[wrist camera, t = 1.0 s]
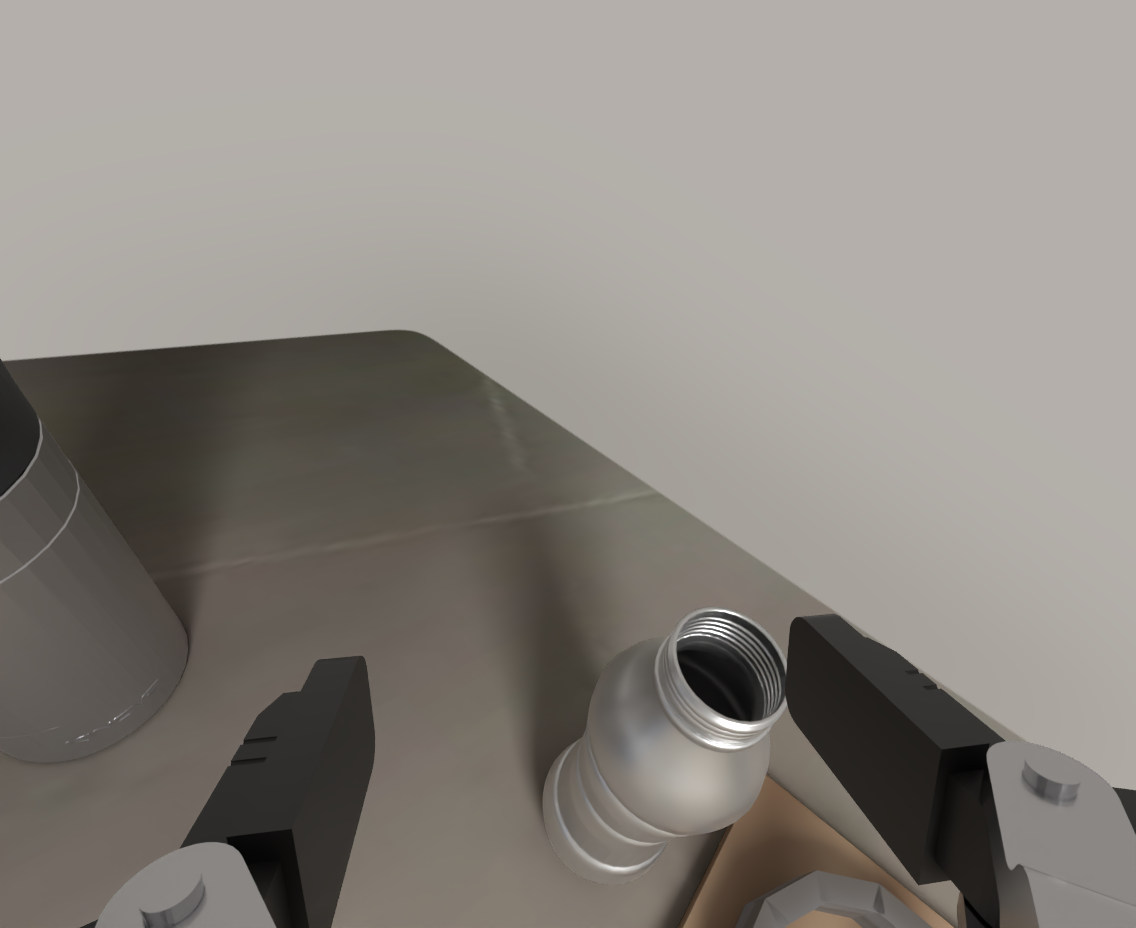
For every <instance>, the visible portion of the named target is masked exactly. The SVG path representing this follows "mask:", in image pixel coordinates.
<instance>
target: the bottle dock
mask: <svg viewBox="0 0 1136 928" xmlns="http://www.w3.org/2000/svg"><path fill="white" fill-rule="evenodd" d="M678 928H954V927H953V926H952V925H950V924H949V923H948V922H947V921H945V920H944V919H943V918H942V917H941V916H939V915H938V914H937V913H936V912H934V911H933V910H932V909H931V908H930V907H928V906H927V905H926V904H925V903H923V902H922V901H921V900H920V899H918V898H917V897H916V896H915V895H914V894H912V893H911V892H910V891H909V890H907V889H906V888H905V887H904V886H902V885H901V884H900V883H899V882H898V881H896V880H895V879H894V878H893V877H891V876H890V875H889V874H888V873H886V872H885V871H884V870H883V869H882V868H880V867H879V866H878V865H877V864H875V863H874V862H873V861H872V860H870V859H869V858H868V857H867V856H866V855H864V854H863V853H862V852H861V851H859V850H858V849H857V848H856V847H854V846H853V845H852V844H851V843H850V842H848V841H847V840H846V839H845V838H843V837H842V836H841V835H840V834H838V833H837V832H836V831H835V830H834V829H832V828H831V827H830V826H829V825H827V824H826V823H825V822H824V821H822V820H821V819H820V818H819V817H818V816H816V815H815V814H814V813H813V812H811V811H810V810H809V809H808V808H807V807H805V806H804V805H803V804H802V803H800V802H799V801H798V800H797V799H795V798H794V797H793V796H792V795H791V794H789V793H788V792H787V791H786V790H784V789H783V788H782V787H781V786H779V785H778V784H777V783H776V782H775V781H773V780H772V779H771V778H770V777H768V776H767V775H766V776H765V779H764V782H763V785H762V788H761V790H760V793H759V796H758V798H757V799H756V801H755V802H754V804H753V805H752V807H751V808H750V810H749V811H748V812H747V813H746V814H744V815H743V816H742V817H741V818H740V819H739V820H738V821H737V822H735V823H733V824H731V825H729V826H728V827H727V829H726V831H725V833H724V835H723V837H722V839H721V841H720V843H719V845H718V848H717V850H716V852H715V854H714V856H713V858H712V860H711V862H710V864H709V866H708V868H707V870H706V872H705V874H704V876H703V878H702V880H701V882H700V884H699V886H698V888H697V890H696V892H695V894H694V896H693V898H692V900H691V902H690V904H689V906H688V908H687V910H686V912H685V914H684V916H683V918H682V920H681V922H680V924H679V926H678Z"/></svg>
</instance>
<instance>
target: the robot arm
mask: <svg viewBox="0 0 1136 928" xmlns="http://www.w3.org/2000/svg"><path fill="white" fill-rule="evenodd" d="M187 655H188V641H187V634H186V632H185V630H184V627H183V625H182V623H181V621H180V620H179V618H178V617H177V616H176V614H175V613H174V611H173V610H172V608H171V607H170V605H169V604H168V603H167V601H166V600H165V598H164V597H163V595H162V594H161V592H160V591H159V589H158V588H157V586H156V585H155V583H154V582H153V580H152V579H151V577H150V576H149V575H148V573H147V572H146V570H145V569H144V567H143V566H142V564H141V563H140V562H139V560H138V559H137V557H136V556H135V554H134V553H133V551H132V550H131V549H130V547H129V546H128V544H127V543H126V541H125V540H124V538H123V537H122V536H121V534H120V533H119V531H118V530H117V528H116V527H115V526H114V524H113V523H112V521H111V520H110V518H109V517H108V515H107V514H106V513H105V511H104V510H103V508H102V507H101V505H100V504H99V502H98V501H97V500H96V498H95V497H94V495H93V494H92V492H91V491H90V489H89V488H88V487H87V485H86V484H85V482H84V481H83V479H82V478H81V476H80V475H79V474H78V472H77V471H76V469H75V468H74V466H73V465H72V463H71V462H70V461H69V460H68V458H67V457H66V456H65V454H64V453H63V451H62V450H61V448H60V447H59V445H58V444H57V443H56V441H55V440H54V438H53V437H52V435H51V434H50V432H49V431H48V430H47V428H46V427H45V425H44V424H43V422H42V421H41V419H40V418H39V417H38V415H37V414H36V412H35V411H34V409H33V408H32V406H31V405H30V403H29V402H28V400H27V399H26V398H25V396H24V395H23V393H22V392H21V390H20V389H19V388H18V386H17V385H16V383H15V381H14V380H13V378H12V377H11V375H10V373H9V372H8V370H7V369H6V367H5V365H4V364H3V362H2V360H1V359H0V751H1V752H3V753H5V754H7V755H9V756H12V757H14V758H17V759H20V760H23V761H27V762H37V763H52V762H62V761H69V760H73V759H76V758H80V757H83V756H87V755H90V754H93V753H95V752H97V751H100V750H102V749H104V748H106V747H108V746H111V745H113V744H115V743H116V742H118V741H120V740H121V739H123V738H124V737H126V736H128V735H129V734H131V733H132V732H134V731H135V730H137V729H138V728H139V727H140V726H141V725H143V724H144V723H145V722H146V721H147V720H149V719H150V718H151V717H152V716H153V715H154V714H155V713H156V712H157V711H158V710H159V709H160V707H161V706H162V705H163V704H164V703H165V702H166V701H167V700H168V698H169V697H170V695H171V694H172V692H173V691H174V689H175V687H176V686H177V684H178V683H179V681H180V678H181V676H182V673H183V671H184V668H185V666H186V661H187ZM785 696H786V702H787V705H788V709H789V712H790V714H791V716H792V718H793V720H794V722H795V723H796V725H797V726H798V727H799V729H800V730H801V731H802V733H803V734H804V735H805V736H806V738H807V739H808V740H809V742H810V743H811V744H812V746H813V747H814V748H815V750H816V751H817V752H818V754H819V755H820V756H821V758H822V759H823V760H824V761H825V763H826V764H827V765H828V767H829V768H830V769H831V771H832V772H833V773H834V775H835V776H836V777H837V779H838V780H839V781H840V783H841V784H842V785H843V787H844V788H845V789H846V790H847V792H848V793H849V794H850V796H851V797H852V798H853V800H854V801H855V802H856V804H857V805H858V806H859V808H860V809H861V810H862V812H863V813H864V814H865V816H866V817H867V818H868V819H869V821H870V822H871V823H872V825H873V826H874V827H875V829H876V830H877V831H878V833H879V834H880V835H881V837H882V838H883V839H884V841H885V842H886V843H887V845H888V846H889V847H890V848H891V850H892V851H893V852H894V854H895V855H896V856H897V858H898V859H899V860H900V862H901V863H902V864H903V866H904V867H905V868H906V870H907V871H908V872H909V873H910V875H911V876H912V877H913V879H914V880H915V881H916V883H917V884H918V885H923V884H929V883H936V882H942V881H948V880H951V881H952V882H953V883H954V884H955V886H956V887H957V888H958V889H959V890H960V894H959V899H958V904H957V918H958V928H1136V790H1129V789H1121V788H1114V787H1111V786H1110V785H1109V784H1108V783H1107V782H1106V781H1105V780H1104V779H1103V778H1102V777H1101V776H1100V775H1098V774H1097V773H1096V772H1094V771H1093V770H1092V769H1090V768H1089V767H1087V766H1085V765H1084V764H1082V763H1081V762H1079V761H1077V760H1075V759H1073V758H1071V757H1069V756H1067V755H1065V754H1063V753H1061V752H1058V751H1055V750H1053V749H1050V748H1047V747H1044V746H1041V745H1037V744H1033V743H1028V742H1021V741H1005V740H1004V739H1003V738H1001V737H1000V736H999V735H998V734H996V733H995V732H994V731H993V730H992V729H990V728H989V727H988V726H987V725H985V724H984V723H983V722H982V721H981V720H979V719H978V718H977V717H976V716H974V715H973V714H972V713H971V712H969V711H968V710H967V709H966V708H965V707H963V706H962V705H961V704H960V703H958V702H957V701H956V700H955V699H954V698H952V697H951V696H950V695H949V694H947V693H946V692H945V691H944V690H942V689H938V688H937V685H936V684H935V683H934V682H933V681H931V680H930V679H929V678H928V677H927V676H925V675H924V674H923V673H920V674H919V672H918V669H917V668H915V667H914V666H913V665H912V664H911V663H909V662H908V661H907V660H906V659H904V658H903V657H902V656H901V655H900V654H898V653H897V652H896V651H894V650H892V649H890V648H888V647H886V646H884V645H882V644H880V643H878V642H876V641H874V640H872V639H869V638H867V637H866V638H865V637H863V636H862V635H861V634H860V633H859V632H858V631H856V630H855V629H854V628H853V627H852V626H850V625H849V624H848V623H847V622H846V621H845V620H843V619H842V618H841V617H840V616H838V615H836V614H826V615H815V616H804V617H796V618H795V619H794V620H793V621H792V623H791V626H790V634H789V646H788V657H787V669H786V680H785ZM374 754H375V730H374V721H373V713H372V705H371V697H370V689H369V681H368V673H367V666H366V662H365V659H364V657H363V656H354V657H343V658H332V659H321V660H317V662H316V663H315V664H314V666H313V668H312V670H311V672H310V674H309V676H308V678H307V680H306V682H305V684H304V686H303V688H302V690H301V691H300V692H290V693H283V694H282V695H281V696H280V697H278V698H277V699H276V700H275V701H274V702H273V703H272V704H270V705H269V706H268V707H267V708H266V709H265V710H263V711H262V712H261V713H260V714H259V715H258V716H257V718H256V720H255V721H254V723H253V725H252V726H251V728H250V730H249V732H248V733H247V735H246V737H245V738H244V743H243V745H240V747H239V749H238V750H237V752H236V754H235V755H234V757H233V759H232V760H231V766H228V767H227V769H226V771H225V772H224V774H223V776H222V777H221V779H220V781H219V783H218V784H217V786H216V788H215V789H214V791H213V793H212V794H211V796H210V798H209V800H208V801H207V803H206V805H205V806H204V808H203V810H202V811H201V813H200V815H199V817H198V818H197V820H196V822H195V823H194V825H193V827H192V828H191V830H190V832H189V834H188V835H187V837H186V839H185V840H184V842H183V844H182V845H181V847H180V849H179V850H176V851H173V852H171V853H169V854H167V855H165V856H163V857H161V858H159V859H158V860H156V861H154V862H153V863H151V864H150V865H148V866H147V867H145V868H144V869H142V870H141V871H140V872H138V873H137V874H136V875H135V876H133V877H132V878H131V879H130V880H129V881H128V882H126V883H125V884H124V885H123V886H122V887H121V888H120V890H119V891H118V892H117V893H116V894H115V895H114V896H113V897H112V899H111V900H110V901H109V902H108V904H107V905H106V907H105V908H104V910H103V912H102V913H101V915H100V917H99V919H98V920H96V921H94V922H92V923H89V924H87V925H85V926H83V927H80V928H331V925H332V921H333V918H334V914H335V910H336V906H337V902H338V899H339V895H340V891H341V887H342V883H343V879H344V876H345V872H346V868H347V864H348V860H349V857H350V853H351V849H352V845H353V841H354V838H355V834H356V830H357V826H358V822H359V819H360V815H361V811H362V807H363V803H364V799H365V796H366V792H367V788H368V784H369V780H370V777H371V773H372V769H373V763H374Z"/></svg>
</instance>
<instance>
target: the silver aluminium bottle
mask: <svg viewBox="0 0 1136 928" xmlns="http://www.w3.org/2000/svg"><path fill="white" fill-rule="evenodd" d="M786 669H787V660H786V658H785V656H784V654H783V652H782V650H781V649H780V647H779V646H778V644H777V643H776V641H775V640H774V639H773V638H772V636H771V635H770V634H769V633H768V632H767V631H766V630H765V629H764V628H763V627H762V626H760V625H759V624H758V623H757V622H755V621H754V620H752V619H751V618H749V617H748V616H746V615H744V614H742V613H740V612H737V611H735V610H731V609H728V608H724V607H715V606H713V607H703V608H700V609H697V610H694V611H692V612H691V613H689V614H687V615H686V616H685V617H684V618H683V619H682V620H681V621H680V622H679V623H678V624H677V625H676V627H675V629H674V630H673V632H671V633H670V634H669V635H668V636H667V637H660V638H652V639H648V640H645V641H642V642H639V643H637V644H635V645H633V646H631V647H629V648H627V649H626V650H624V651H622V652H620V653H619V654H617V655H616V656H615V657H614V658H613V659H612V660H611V661H610V662H609V663H608V664H607V665H606V667H605V668H604V670H603V672H602V673H601V675H600V676H599V678H598V681H597V684H596V686H595V689H594V692H593V695H592V698H591V700H590V705H589V712H588V718H587V726H586V730H585V732H584V735H583V737H582V738H580V739H578V740H577V741H575V742H574V743H572V744H571V745H569V746H568V747H567V748H566V749H565V750H564V751H563V752H562V753H561V754H560V755H559V756H558V757H557V758H556V760H555V761H554V763H553V764H552V766H551V767H550V770H549V772H548V775H547V777H546V780H545V785H544V790H543V816H544V823H545V829H546V832H547V835H548V838H549V841H550V843H551V845H552V846H553V848H554V850H555V852H556V854H557V855H558V856H559V858H560V859H561V860H562V861H563V863H564V864H565V865H566V866H567V867H568V868H570V869H571V870H572V871H573V872H574V873H576V874H577V875H579V876H581V877H583V878H584V879H586V880H589V881H593V882H596V883H599V884H602V885H616V886H617V885H622V884H627V883H630V882H632V881H634V880H636V879H638V878H640V877H642V876H643V875H644V874H645V873H646V872H648V871H649V870H650V869H651V868H652V866H653V865H654V864H655V862H656V861H657V860H658V858H659V857H660V855H661V854H662V852H663V851H664V849H665V846H666V844H667V842H668V841H669V840H670V839H673V838H675V837H683V836H695V835H701V834H706V833H711V832H714V831H716V830H720V829H722V828H724V827H727V826H729V825H731V824H733V823H735V822H737V821H738V820H739V819H740V818H741V817H742V816H743V815H744V814H746V813H747V812H748V811H749V810H750V808H751V807H752V805H753V804H754V802H755V801H756V799H757V798H758V796H759V793H760V790H761V788H762V785H763V782H764V779H765V776H766V773H767V770H768V766H769V758H770V738H769V730H770V729H771V727H772V725H773V723H774V722H775V721H777V720H778V719H779V718H780V717H781V715H782V714H783V712H784V711H785V709H786V707H787V702H786V696H785V680H786Z"/></svg>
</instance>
